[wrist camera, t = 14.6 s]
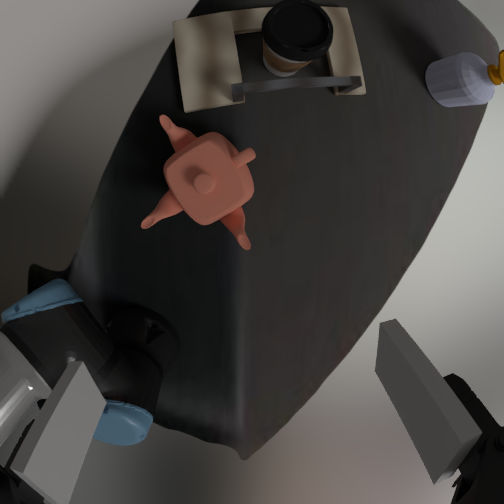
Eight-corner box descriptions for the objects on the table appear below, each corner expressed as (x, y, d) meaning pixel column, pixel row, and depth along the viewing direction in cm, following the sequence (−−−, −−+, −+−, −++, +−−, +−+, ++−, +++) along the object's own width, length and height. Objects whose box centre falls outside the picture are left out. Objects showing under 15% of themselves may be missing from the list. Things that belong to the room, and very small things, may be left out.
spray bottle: (421, 96, 41) (525, 81, 17) (425, 54, 38) (519, 23, 15) (457, 114, 42) (556, 115, 18) (460, 74, 39) (553, 60, 16)
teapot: (247, 229, 48) (249, 252, 37) (159, 211, 46) (138, 229, 36) (268, 139, 43) (278, 136, 33) (176, 121, 41) (158, 113, 31)
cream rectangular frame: (186, 112, 41) (176, 106, 34) (174, 25, 36) (164, 6, 29) (362, 94, 41) (382, 86, 34) (344, 11, 36) (359, -7, 28)
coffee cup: (255, 84, 40) (264, 53, 26) (253, 36, 37) (261, -8, 23) (310, 85, 40) (342, 58, 26) (307, 38, 38) (335, -2, 23)
